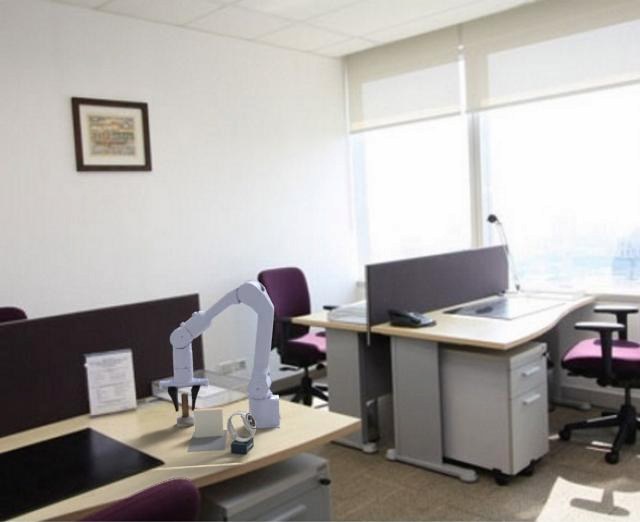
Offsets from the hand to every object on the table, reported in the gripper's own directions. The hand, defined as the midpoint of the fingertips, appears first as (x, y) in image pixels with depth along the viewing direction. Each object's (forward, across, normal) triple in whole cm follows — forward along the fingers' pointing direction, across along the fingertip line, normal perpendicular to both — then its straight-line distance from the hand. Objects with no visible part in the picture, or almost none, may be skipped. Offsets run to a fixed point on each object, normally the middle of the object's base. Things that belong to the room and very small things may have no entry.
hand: (185, 410), depth 187 cm
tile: (+4, -8, +11) cm, 14 cm away
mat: (+5, -8, +14) cm, 17 cm away
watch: (+5, -18, +23) cm, 30 cm away
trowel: (+5, 0, 0) cm, 5 cm away
